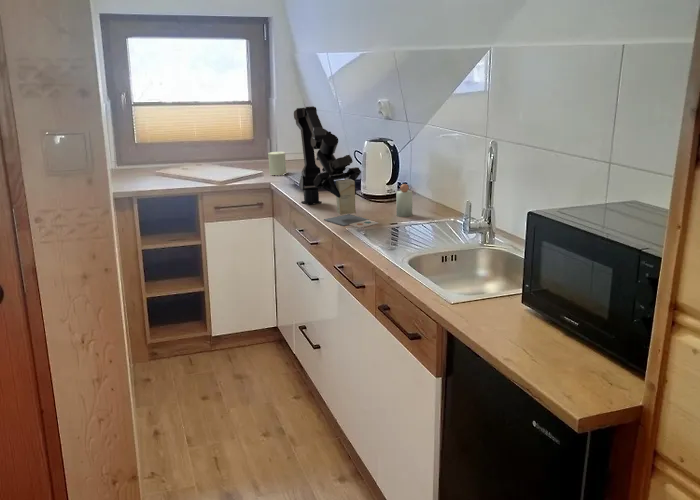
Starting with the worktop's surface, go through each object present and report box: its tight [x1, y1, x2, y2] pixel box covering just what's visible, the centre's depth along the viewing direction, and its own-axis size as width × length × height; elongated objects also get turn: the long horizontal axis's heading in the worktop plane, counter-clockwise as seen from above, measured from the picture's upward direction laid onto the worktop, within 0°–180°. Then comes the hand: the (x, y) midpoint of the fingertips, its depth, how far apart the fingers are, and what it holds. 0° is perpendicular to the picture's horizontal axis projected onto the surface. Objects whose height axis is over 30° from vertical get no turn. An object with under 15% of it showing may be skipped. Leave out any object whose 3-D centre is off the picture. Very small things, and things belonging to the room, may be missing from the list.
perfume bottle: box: [395, 183, 413, 218], centre depth 236 cm, size 6×6×12 cm
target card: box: [348, 219, 380, 229], centre depth 226 cm, size 6×9×1 cm, turn 128°
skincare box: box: [335, 179, 357, 216], centre depth 230 cm, size 6×4×12 cm
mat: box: [323, 214, 370, 227], centre depth 232 cm, size 12×12×1 cm
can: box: [267, 151, 287, 176], centre depth 331 cm, size 9×9×12 cm
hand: (347, 195), depth 229 cm, fingers closed on skincare box, 7 cm apart
